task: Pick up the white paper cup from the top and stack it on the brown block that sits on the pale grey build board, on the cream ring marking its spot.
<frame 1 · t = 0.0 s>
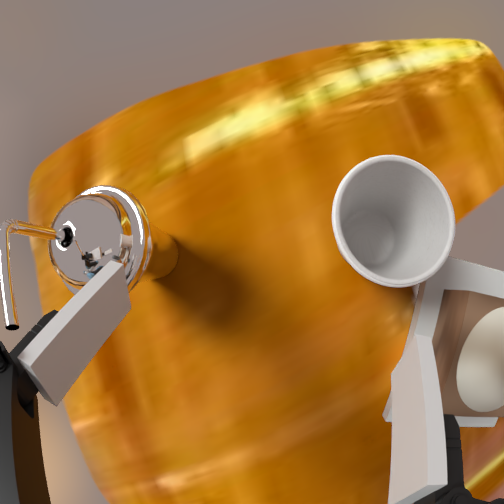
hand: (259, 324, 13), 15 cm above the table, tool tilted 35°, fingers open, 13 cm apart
brown block: (472, 350, 24), point 1 cm above the table, touching build board
build board: (465, 347, 25), on the table
dixie cup: (366, 239, 28), on the table
cup with straw: (157, 257, 31), on the table
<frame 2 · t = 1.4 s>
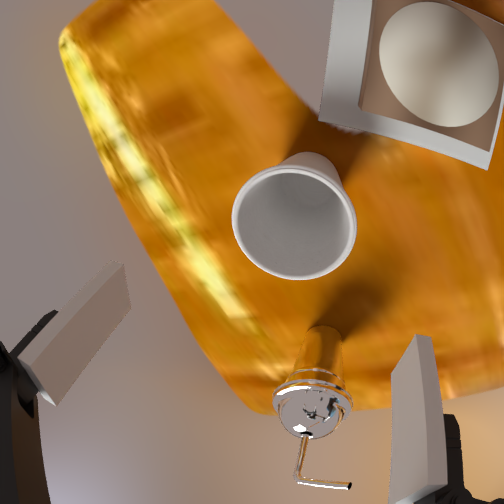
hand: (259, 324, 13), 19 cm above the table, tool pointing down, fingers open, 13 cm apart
brown block: (425, 65, 19), point 1 cm above the table, touching build board
build board: (421, 66, 20), on the table
dixie cup: (308, 180, 29), on the table
cup with straw: (325, 337, 38), on the table
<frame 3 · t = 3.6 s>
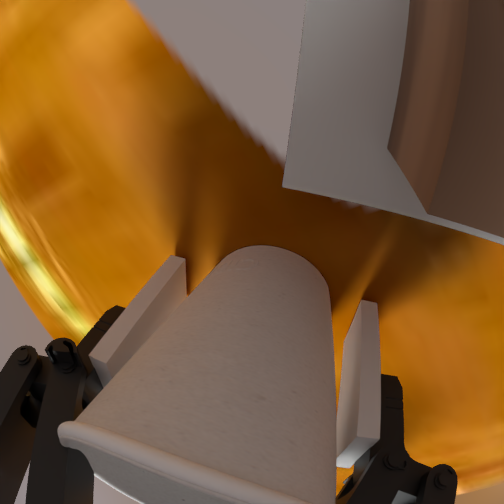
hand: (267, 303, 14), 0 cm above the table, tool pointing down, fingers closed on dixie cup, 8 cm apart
dixie cup: (269, 296, 15), on the table, touching gripper
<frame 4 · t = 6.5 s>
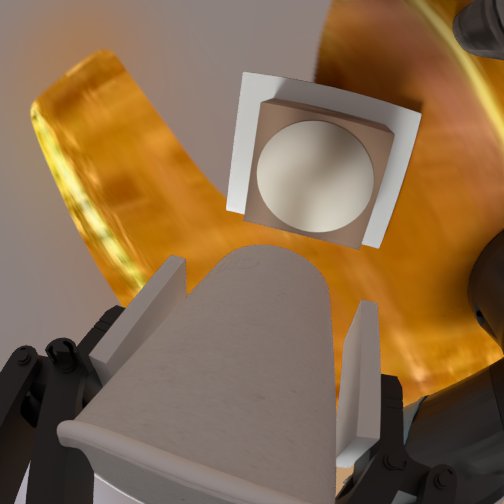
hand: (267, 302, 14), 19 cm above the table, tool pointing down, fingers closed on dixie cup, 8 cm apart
brown block: (318, 162, 28), point 1 cm above the table, touching build board
build board: (319, 158, 29), on the table
dixie cup: (269, 296, 15), point 18 cm above the table, touching gripper
beverage cup: (472, 33, 18), on the table
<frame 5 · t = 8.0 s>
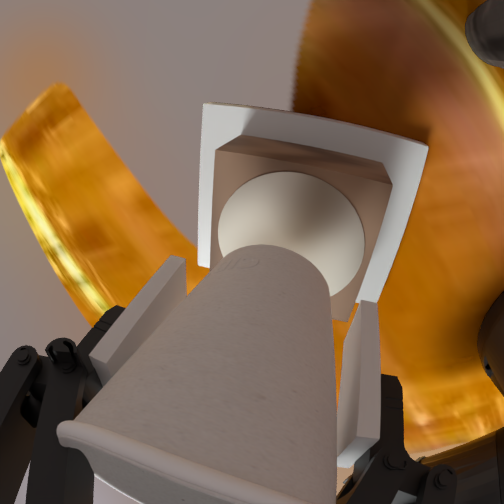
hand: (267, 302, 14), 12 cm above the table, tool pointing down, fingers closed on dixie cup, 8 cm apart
brown block: (300, 211, 23), point 1 cm above the table, touching build board
build board: (302, 204, 25), on the table
dixie cup: (269, 295, 15), point 12 cm above the table, touching gripper
beverage cup: (489, 38, 14), on the table
when the fingers open (8 cm above the table, at t = 9.2 s): dixie cup drops 1 cm, resting on brown block.
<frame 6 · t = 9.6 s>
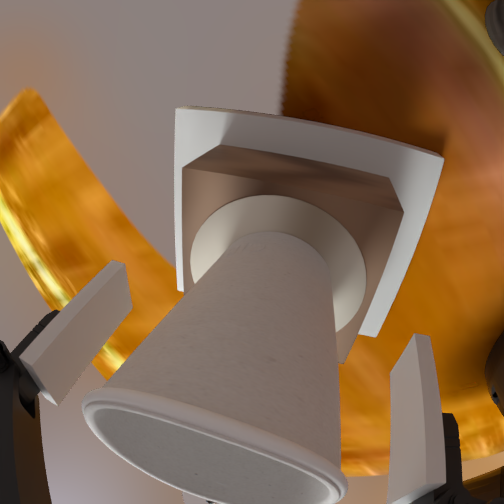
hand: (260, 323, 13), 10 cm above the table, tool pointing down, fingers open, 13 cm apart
brown block: (290, 234, 20), point 1 cm above the table, touching build board, dixie cup
build board: (294, 224, 21), on the table
dixie cup: (274, 280, 16), point 6 cm above the table, touching brown block
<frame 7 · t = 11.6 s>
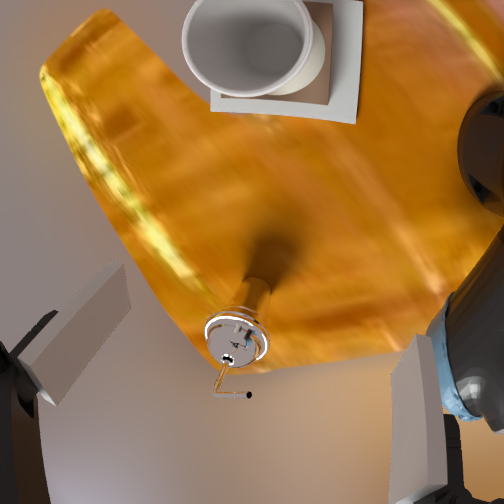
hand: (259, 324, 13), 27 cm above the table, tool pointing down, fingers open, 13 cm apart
brown block: (283, 53, 28), point 1 cm above the table, touching build board, dixie cup
build board: (285, 54, 29), on the table
dixie cup: (274, 48, 24), point 6 cm above the table, touching brown block
cup with straw: (257, 289, 47), on the table
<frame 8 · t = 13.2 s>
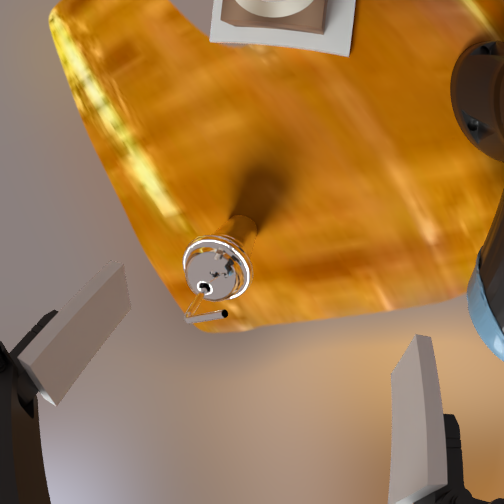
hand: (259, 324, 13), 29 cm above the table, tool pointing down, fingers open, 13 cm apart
cup with straw: (243, 229, 45), on the table
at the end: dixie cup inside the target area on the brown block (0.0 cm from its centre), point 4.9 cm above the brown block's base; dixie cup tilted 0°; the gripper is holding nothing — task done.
